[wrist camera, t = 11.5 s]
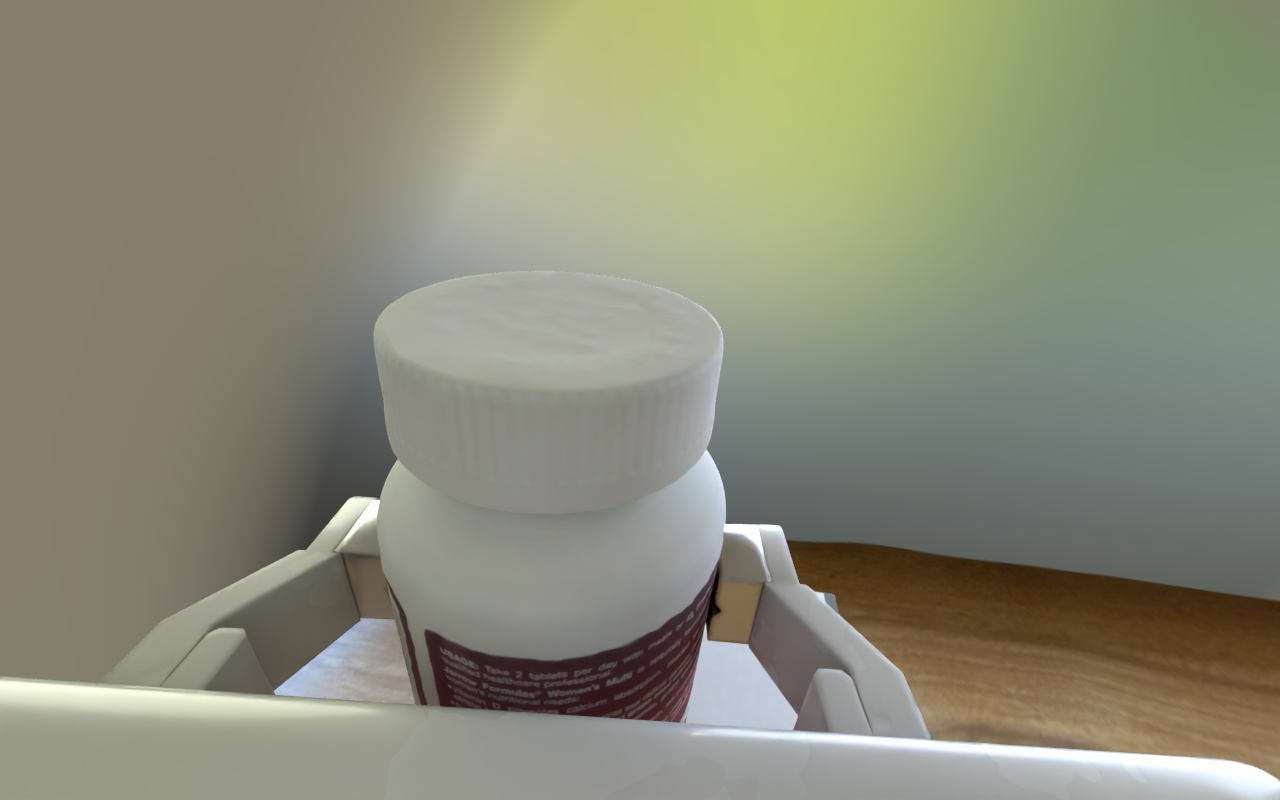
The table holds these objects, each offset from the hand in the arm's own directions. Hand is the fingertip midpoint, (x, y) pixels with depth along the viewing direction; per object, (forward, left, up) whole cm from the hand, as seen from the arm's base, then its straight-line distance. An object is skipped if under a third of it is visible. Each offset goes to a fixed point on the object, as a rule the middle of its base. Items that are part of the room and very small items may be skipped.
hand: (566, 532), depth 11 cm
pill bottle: (0, -1, -6) cm, 6 cm away
